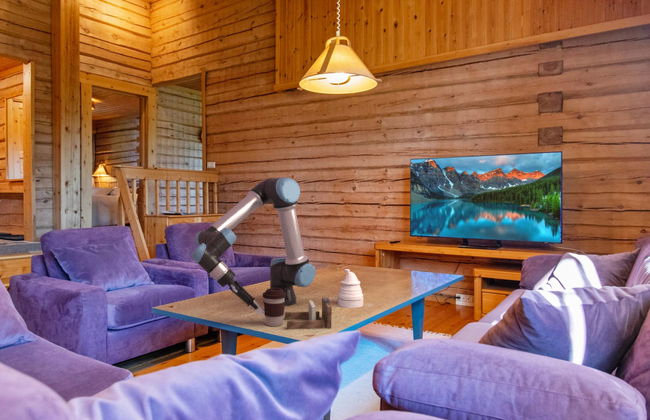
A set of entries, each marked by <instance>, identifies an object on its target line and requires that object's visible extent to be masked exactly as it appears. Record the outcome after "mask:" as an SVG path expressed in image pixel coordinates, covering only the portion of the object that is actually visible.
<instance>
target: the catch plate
mask: <svg viewBox="0 0 650 420" xmlns="http://www.w3.org/2000/svg"><path fill="white" fill-rule="evenodd" d="M316 311H317V309H316V305H315V303H314V301H313V300H311V299H309V300H308V312H309V319H308V320H317V319H316Z"/></svg>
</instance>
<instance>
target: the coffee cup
mask: <svg viewBox="0 0 650 420" xmlns="http://www.w3.org/2000/svg"><path fill="white" fill-rule="evenodd" d="M285 297H286V293H285V292H283V290H282V289H280V288H270V287H268V288H267V289H266V291H264V292H262V298H263V309H264V311H265V312H264V313H263V314H264V317H265V318H264V319H265V325H266V326H268V327H279V326H282V325H283V323H284V316H285V301H284V299H285Z"/></svg>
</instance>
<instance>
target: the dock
mask: <svg viewBox="0 0 650 420" xmlns="http://www.w3.org/2000/svg"><path fill="white" fill-rule="evenodd" d="M332 310H333V309H332V305H331V300H330V298H329V297H322V298H321V316H320V311H317V310H316V320H309V311H286V312H285V311H284V320H285V321H286V329H287V330H304V329H306V330H307V329H325V326H326V328H327V329H332V315H333V313H332ZM320 317H321V319H320ZM288 320H289V321H288Z"/></svg>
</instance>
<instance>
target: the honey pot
mask: <svg viewBox="0 0 650 420" xmlns="http://www.w3.org/2000/svg"><path fill="white" fill-rule="evenodd" d="M344 272H345V274H346V275H345V277H344V278H343V280H340V284H341V285H340V287H339V292H338V294H337V306H338V307H341V308H347V309H349V308H350V309H355V308H356V309H357V307H358V308H361V307H363V306H364V294H363V290H362V287H361V285H360V284H361V281H360V280H359V279H358V277H357V275H356V273H354V272H353V271H351V270H350V268H345V269H344Z"/></svg>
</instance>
